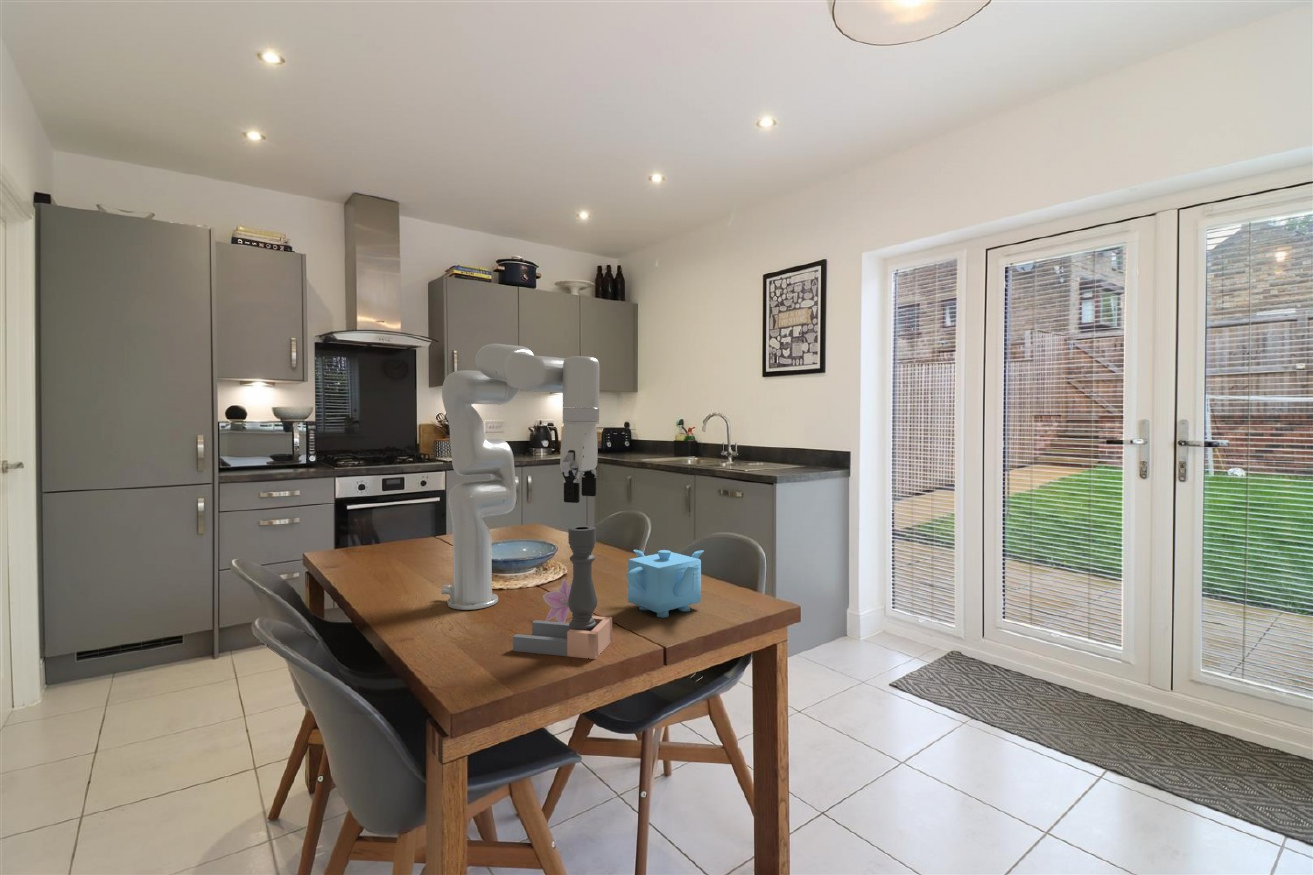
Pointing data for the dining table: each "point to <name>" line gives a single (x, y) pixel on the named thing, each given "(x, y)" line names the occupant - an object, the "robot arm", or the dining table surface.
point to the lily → (558, 602)
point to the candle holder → (582, 578)
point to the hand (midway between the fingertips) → (580, 499)
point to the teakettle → (664, 581)
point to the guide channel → (565, 639)
